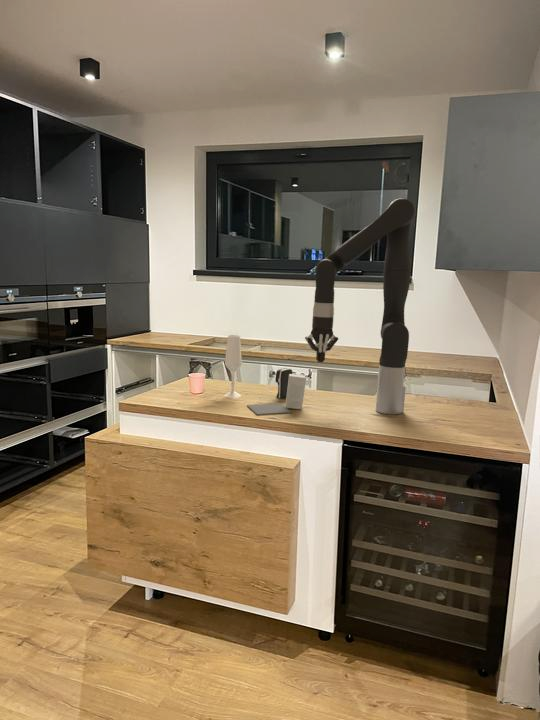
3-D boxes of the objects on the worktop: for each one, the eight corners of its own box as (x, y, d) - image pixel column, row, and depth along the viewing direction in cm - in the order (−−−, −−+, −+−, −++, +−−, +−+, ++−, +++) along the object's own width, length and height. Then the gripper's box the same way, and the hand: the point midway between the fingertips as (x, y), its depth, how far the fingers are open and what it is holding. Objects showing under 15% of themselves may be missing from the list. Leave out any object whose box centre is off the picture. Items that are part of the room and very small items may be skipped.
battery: (284, 394, 212) (285, 366, 210) (292, 396, 209) (293, 368, 207) (273, 397, 207) (274, 369, 205) (280, 399, 204) (281, 370, 202)
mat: (279, 404, 197) (279, 402, 197) (291, 413, 186) (291, 411, 186) (247, 406, 193) (247, 404, 193) (257, 415, 182) (257, 414, 182)
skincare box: (300, 406, 195) (305, 375, 193) (301, 409, 191) (306, 377, 188) (284, 404, 194) (288, 373, 192) (285, 407, 190) (289, 376, 188)
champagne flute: (242, 394, 210) (243, 334, 206) (239, 398, 204) (241, 337, 199) (225, 393, 211) (227, 334, 206) (222, 397, 204) (223, 336, 200)
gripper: (334, 314, 195) (331, 359, 199) (302, 313, 191) (299, 360, 194) (344, 316, 188) (340, 363, 192) (310, 316, 184) (307, 364, 187)
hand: (320, 361), depth 193 cm, fingers closed
